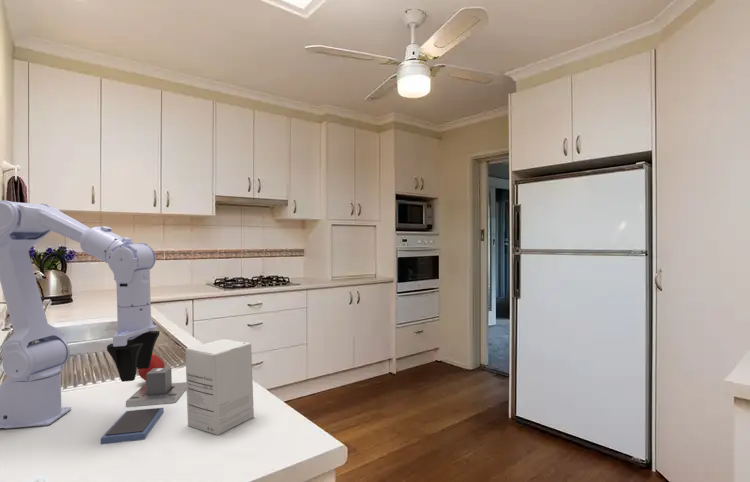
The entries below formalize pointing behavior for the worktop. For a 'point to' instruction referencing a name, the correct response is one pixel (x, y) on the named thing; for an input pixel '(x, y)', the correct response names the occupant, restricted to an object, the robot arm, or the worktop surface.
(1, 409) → the robot arm
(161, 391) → the block
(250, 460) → the worktop surface
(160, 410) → the phone
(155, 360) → the onion
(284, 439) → the worktop surface
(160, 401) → the plate
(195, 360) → the supplement box
